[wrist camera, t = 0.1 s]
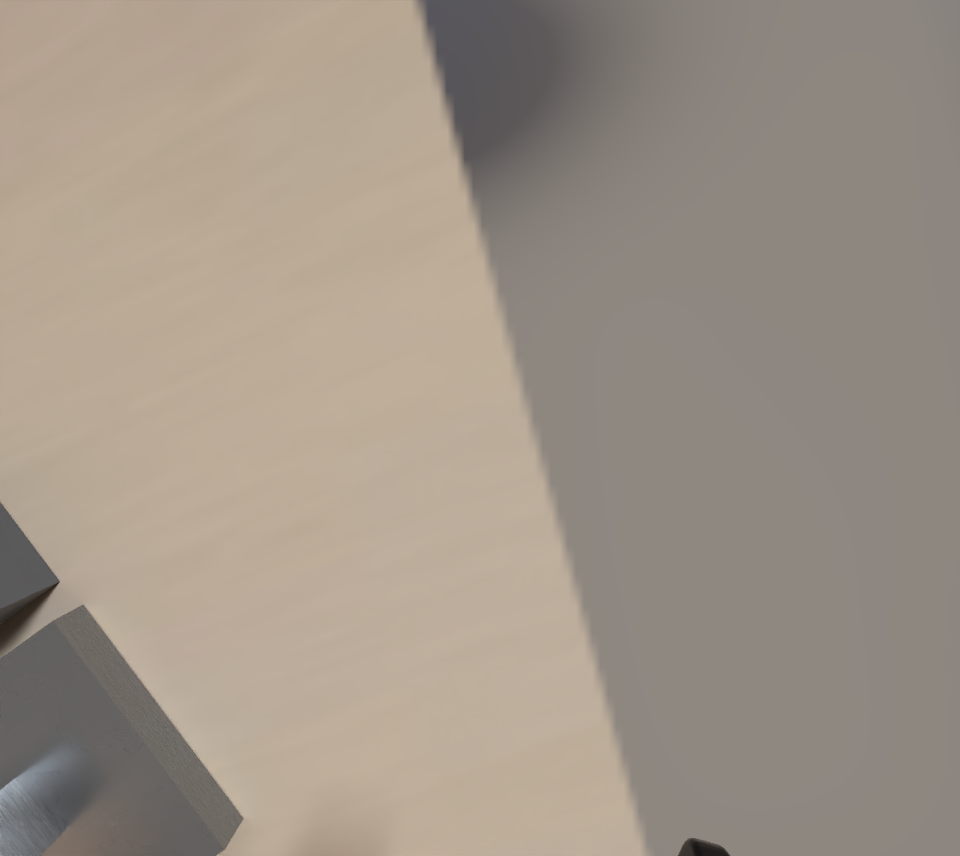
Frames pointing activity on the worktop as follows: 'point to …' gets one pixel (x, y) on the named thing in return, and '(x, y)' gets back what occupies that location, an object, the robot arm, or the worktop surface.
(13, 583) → the knob
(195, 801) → the plate
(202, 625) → the worktop surface
